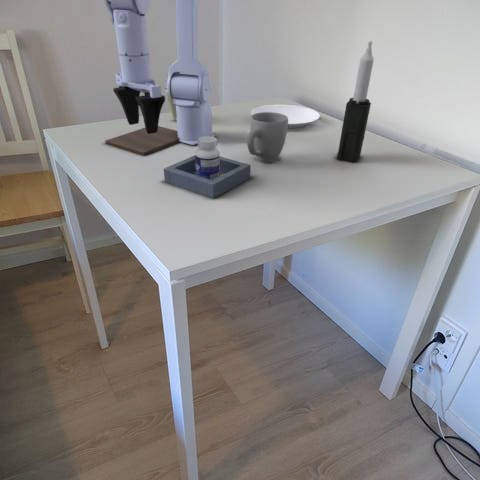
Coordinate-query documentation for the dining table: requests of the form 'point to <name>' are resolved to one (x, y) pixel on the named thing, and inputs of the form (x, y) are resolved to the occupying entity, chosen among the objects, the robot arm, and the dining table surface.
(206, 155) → the pill bottle
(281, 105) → the plate
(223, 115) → the dining table surface
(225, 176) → the square frame
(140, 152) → the board
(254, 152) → the mug
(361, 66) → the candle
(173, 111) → the ice cream cone
